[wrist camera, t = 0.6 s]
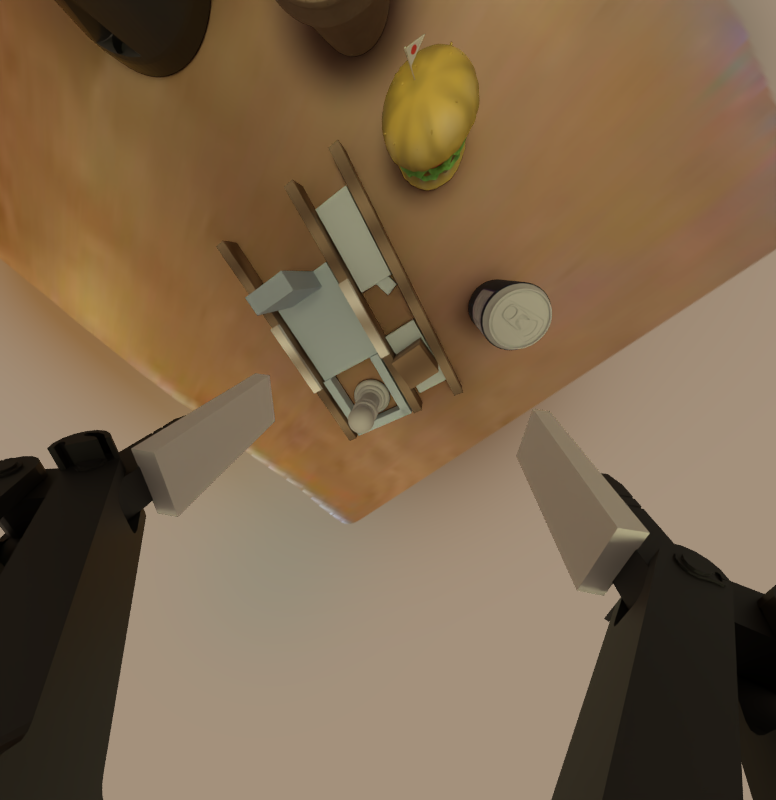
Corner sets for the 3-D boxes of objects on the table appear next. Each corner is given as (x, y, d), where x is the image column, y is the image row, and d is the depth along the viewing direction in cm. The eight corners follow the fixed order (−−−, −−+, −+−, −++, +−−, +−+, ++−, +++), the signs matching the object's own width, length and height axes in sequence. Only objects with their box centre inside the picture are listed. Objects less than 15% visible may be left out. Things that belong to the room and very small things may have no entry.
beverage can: (491, 337, 35) (518, 366, 24) (457, 309, 34) (469, 326, 23) (527, 299, 33) (573, 313, 22) (491, 268, 32) (521, 266, 21)
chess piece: (392, 410, 41) (383, 443, 33) (358, 412, 42) (341, 445, 34) (387, 376, 39) (375, 403, 31) (351, 380, 40) (331, 406, 32)
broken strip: (318, 212, 32) (314, 210, 31) (351, 186, 30) (348, 183, 29) (417, 391, 39) (416, 394, 38) (447, 377, 38) (448, 380, 37)
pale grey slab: (276, 300, 37) (231, 307, 29) (329, 262, 34) (296, 258, 26) (361, 429, 43) (345, 465, 35) (412, 407, 40) (407, 441, 32)
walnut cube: (395, 354, 36) (391, 363, 33) (420, 337, 35) (419, 344, 31) (413, 378, 38) (411, 389, 34) (438, 362, 36) (438, 371, 32)
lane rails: (229, 248, 35) (212, 246, 32) (345, 149, 29) (335, 136, 26) (353, 432, 44) (348, 443, 41) (461, 385, 38) (463, 394, 35)
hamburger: (423, 213, 31) (418, 181, 20) (378, 156, 29) (346, 88, 18) (482, 149, 28) (513, 69, 17) (435, 81, 26) (437, -54, 15)
